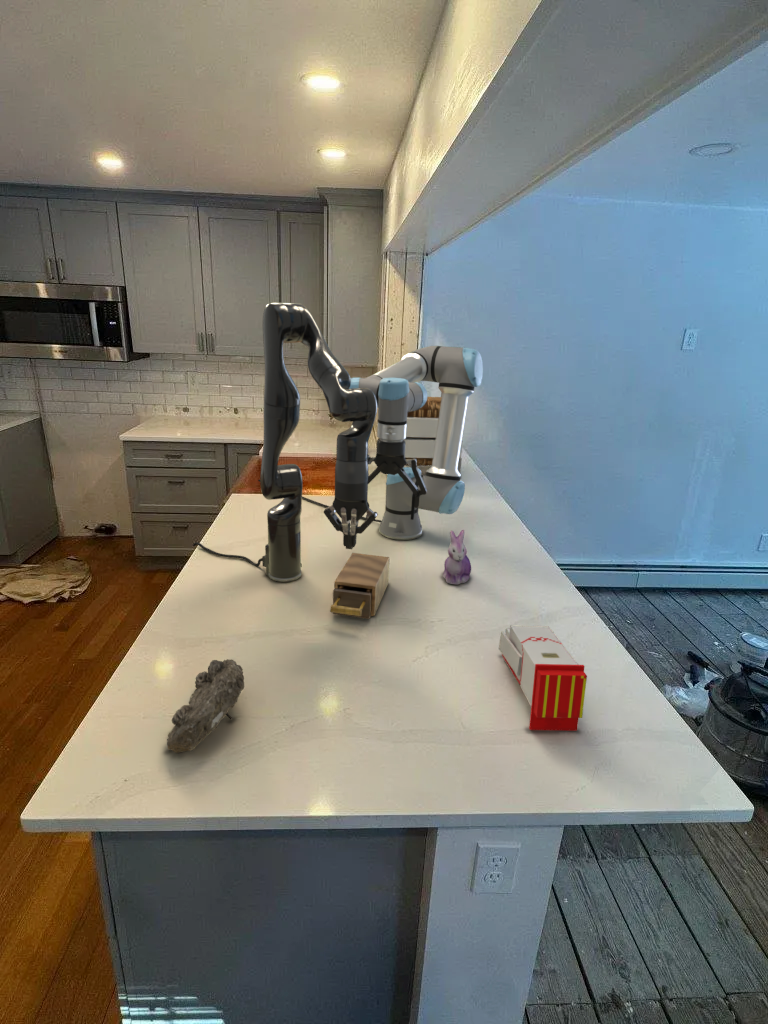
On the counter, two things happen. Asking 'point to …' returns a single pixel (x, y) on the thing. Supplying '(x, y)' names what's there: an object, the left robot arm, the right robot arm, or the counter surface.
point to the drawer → (352, 601)
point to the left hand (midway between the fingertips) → (349, 547)
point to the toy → (545, 676)
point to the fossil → (206, 705)
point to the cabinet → (366, 575)
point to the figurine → (457, 560)
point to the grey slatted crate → (424, 433)
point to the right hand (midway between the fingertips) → (387, 516)
